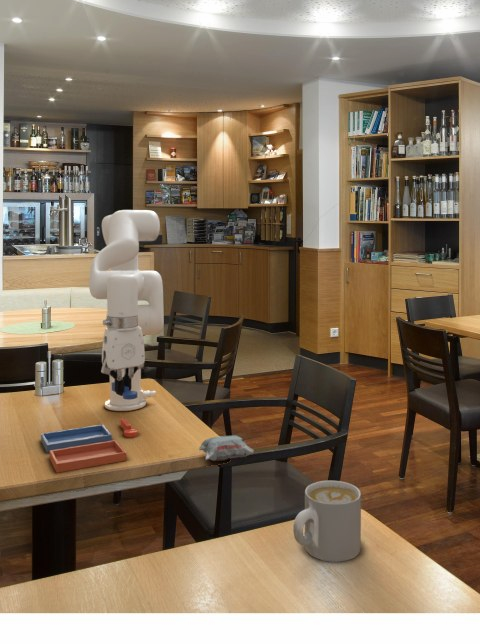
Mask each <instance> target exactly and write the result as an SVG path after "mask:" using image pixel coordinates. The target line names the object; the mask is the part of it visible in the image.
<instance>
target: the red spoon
mask: <svg viewBox="0 0 480 644" xmlns="http://www.w3.org/2000/svg"><path fill="white" fill-rule="evenodd" d="M120 427H121V429H122V430H123V437H125V438H135V437H137V436H138V434H139V433H138V431H139V430H138V429H136V428H132V425H131V423H130V422H129V421H128V420H127V419H126V418H125V417H123V418H120Z"/></svg>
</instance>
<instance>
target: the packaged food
mask: <svg viewBox="0 0 480 644" xmlns="http://www.w3.org/2000/svg"><path fill="white" fill-rule="evenodd" d="M198 450H199V451H203V453H205V459H204V460H205V461H208V460H211V461H213V462H220V461H221V462H223V461H230V460H237V459H241V458H246V457H247V456H250V455H253V454H254V453H255V450H254V449H253V448H252V447H250V446H248V445H247V443H246V441H245V440H244V439H243V438H242V437H240V436H238V435H235V434H234V435H223V436H222V435H221V436H214V437H209V438H207V439H205V440H203V442H201V443H200V446H199V448H198Z"/></svg>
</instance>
